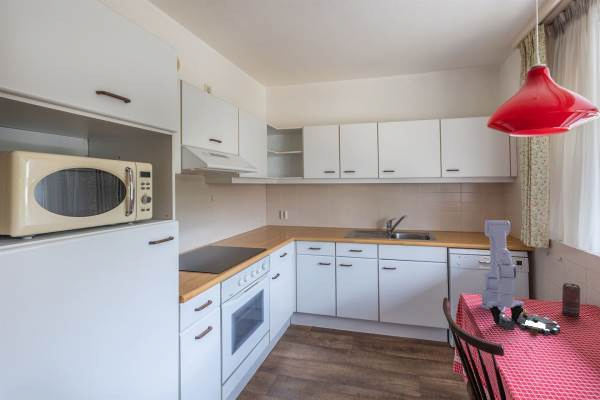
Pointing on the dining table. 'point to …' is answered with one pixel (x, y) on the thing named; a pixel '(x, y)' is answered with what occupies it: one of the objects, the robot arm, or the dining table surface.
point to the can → (571, 300)
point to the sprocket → (537, 323)
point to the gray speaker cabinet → (506, 322)
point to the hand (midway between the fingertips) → (505, 323)
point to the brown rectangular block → (534, 330)
